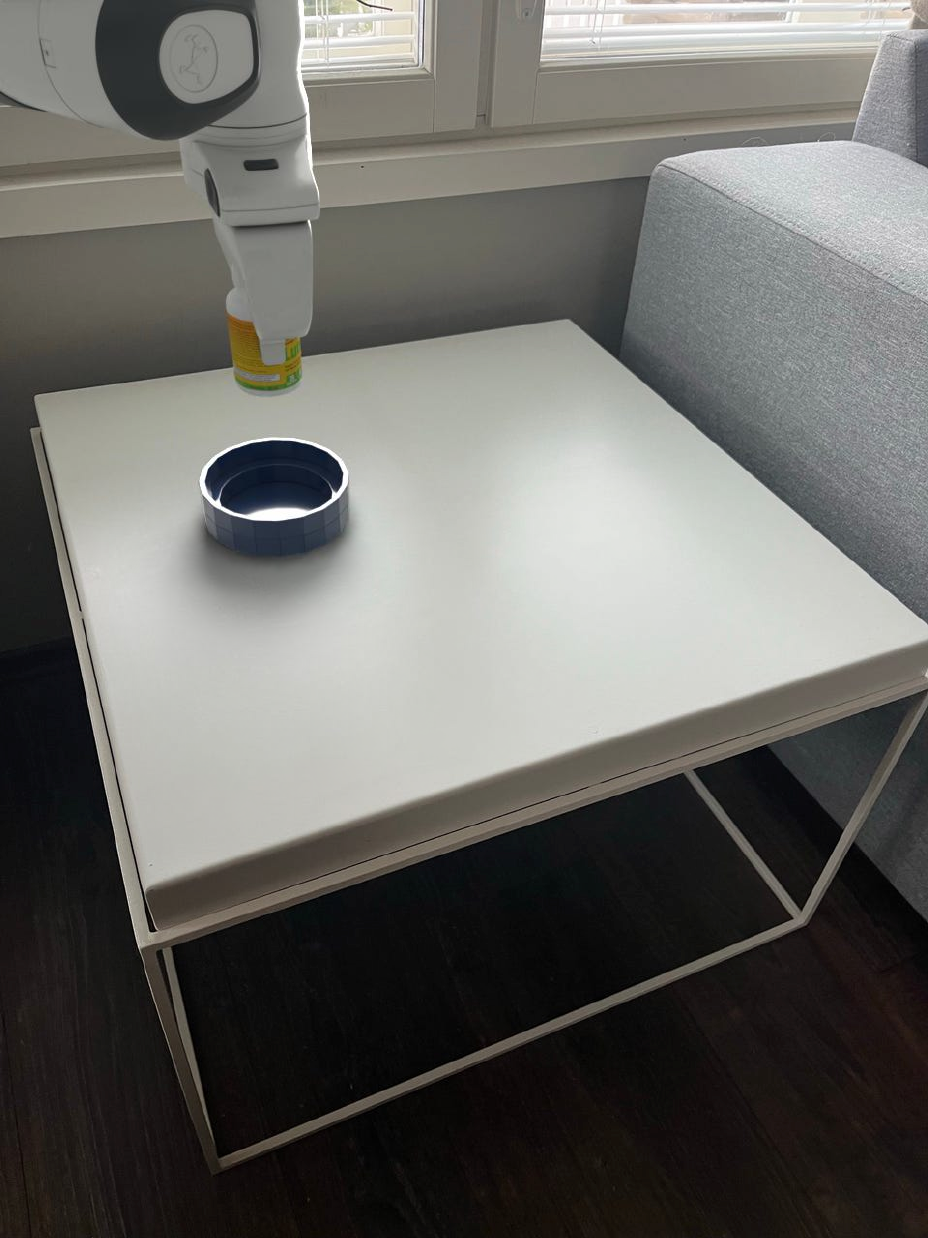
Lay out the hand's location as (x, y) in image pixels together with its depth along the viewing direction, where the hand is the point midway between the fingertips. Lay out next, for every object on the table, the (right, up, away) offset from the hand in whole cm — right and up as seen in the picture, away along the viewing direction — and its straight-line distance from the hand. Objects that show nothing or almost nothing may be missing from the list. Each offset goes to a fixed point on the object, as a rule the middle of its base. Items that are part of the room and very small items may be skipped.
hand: (264, 340), depth 76 cm
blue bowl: (-1, -13, +13) cm, 18 cm away
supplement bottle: (0, -3, +3) cm, 4 cm away
